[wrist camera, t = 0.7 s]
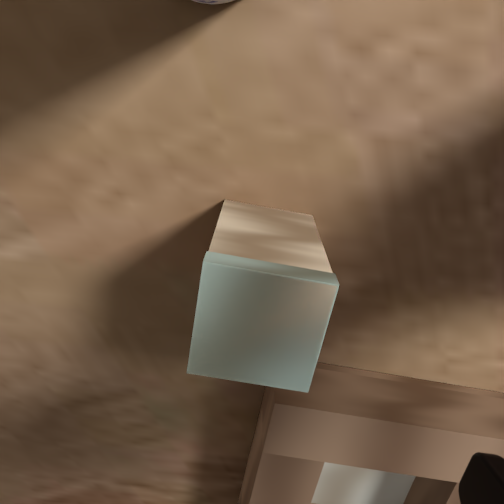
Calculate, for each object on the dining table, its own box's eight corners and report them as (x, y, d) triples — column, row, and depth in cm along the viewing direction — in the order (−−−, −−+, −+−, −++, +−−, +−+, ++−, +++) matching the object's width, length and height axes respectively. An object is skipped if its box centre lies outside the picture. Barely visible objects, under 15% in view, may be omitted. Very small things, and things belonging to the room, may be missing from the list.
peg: (313, 214, 19) (339, 284, 13) (294, 293, 21) (307, 392, 14) (223, 197, 19) (202, 261, 12) (210, 279, 20) (186, 373, 14)
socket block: (503, 393, 23) (544, 446, 19) (425, 544, 27) (447, 607, 24) (273, 355, 22) (274, 403, 19) (234, 516, 27) (230, 577, 24)
